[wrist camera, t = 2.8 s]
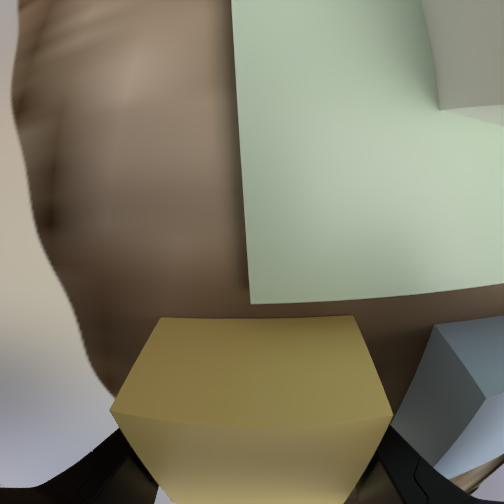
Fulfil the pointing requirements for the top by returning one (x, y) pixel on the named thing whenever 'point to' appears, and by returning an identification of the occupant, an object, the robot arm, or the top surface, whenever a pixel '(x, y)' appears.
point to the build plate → (358, 157)
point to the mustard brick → (254, 409)
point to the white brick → (468, 56)
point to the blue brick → (457, 397)
